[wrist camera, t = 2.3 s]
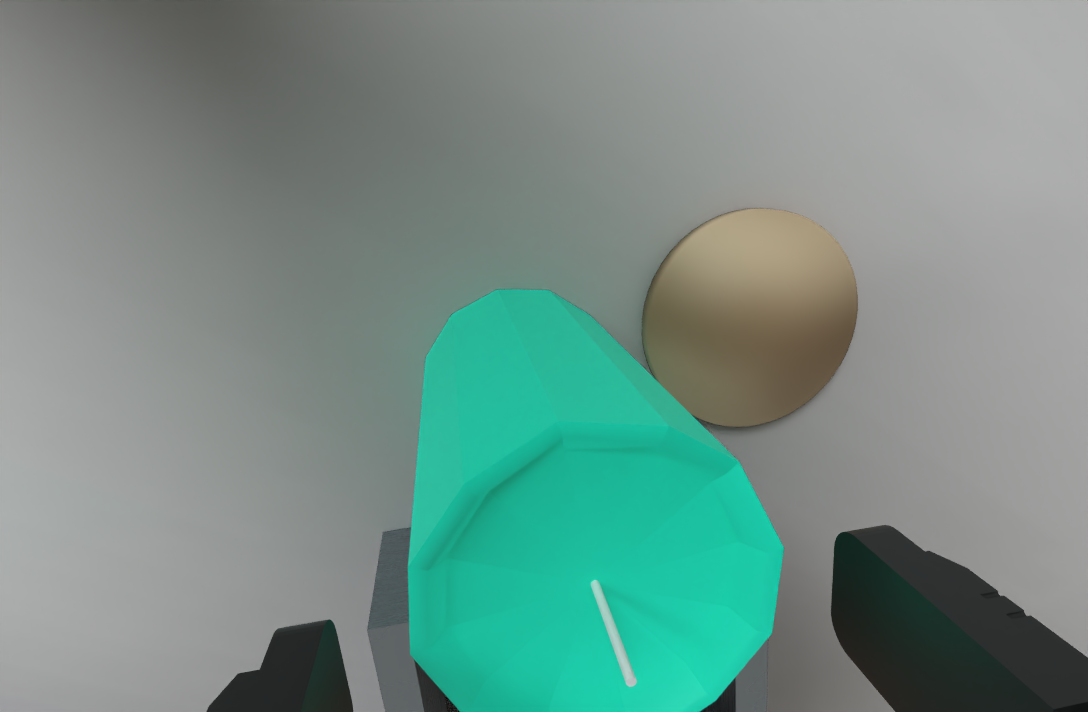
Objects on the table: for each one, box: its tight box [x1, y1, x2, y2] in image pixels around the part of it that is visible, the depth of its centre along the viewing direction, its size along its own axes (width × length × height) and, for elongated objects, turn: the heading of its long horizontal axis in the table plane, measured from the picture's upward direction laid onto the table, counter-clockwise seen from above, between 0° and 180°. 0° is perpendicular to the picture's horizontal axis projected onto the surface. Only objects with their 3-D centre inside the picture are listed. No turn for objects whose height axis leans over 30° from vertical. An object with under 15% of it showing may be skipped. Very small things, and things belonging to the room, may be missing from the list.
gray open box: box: [367, 528, 768, 712], centre depth 20 cm, size 11×11×4 cm
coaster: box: [642, 208, 858, 427], centre depth 20 cm, size 7×7×1 cm
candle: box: [408, 289, 784, 712], centre depth 14 cm, size 6×6×12 cm
